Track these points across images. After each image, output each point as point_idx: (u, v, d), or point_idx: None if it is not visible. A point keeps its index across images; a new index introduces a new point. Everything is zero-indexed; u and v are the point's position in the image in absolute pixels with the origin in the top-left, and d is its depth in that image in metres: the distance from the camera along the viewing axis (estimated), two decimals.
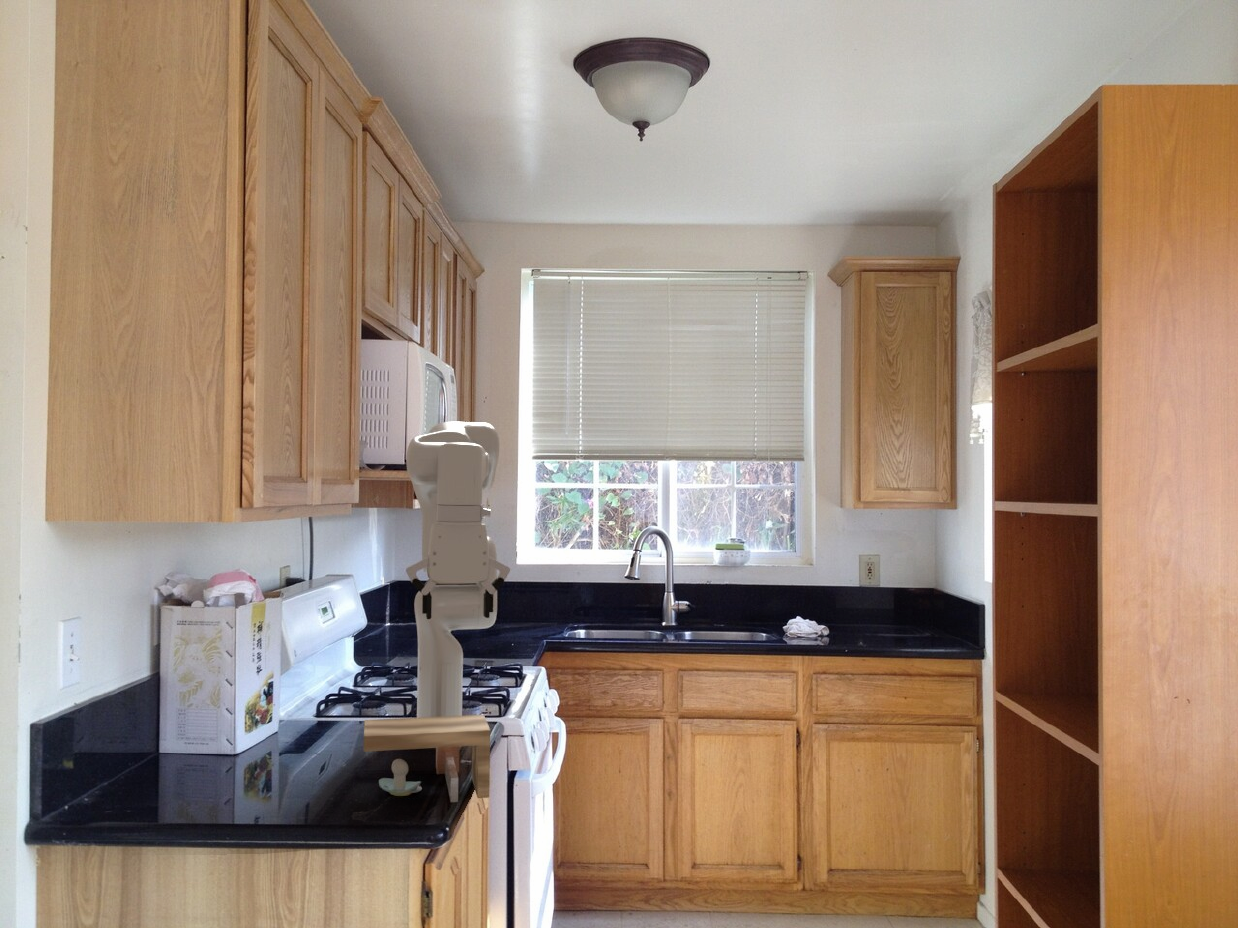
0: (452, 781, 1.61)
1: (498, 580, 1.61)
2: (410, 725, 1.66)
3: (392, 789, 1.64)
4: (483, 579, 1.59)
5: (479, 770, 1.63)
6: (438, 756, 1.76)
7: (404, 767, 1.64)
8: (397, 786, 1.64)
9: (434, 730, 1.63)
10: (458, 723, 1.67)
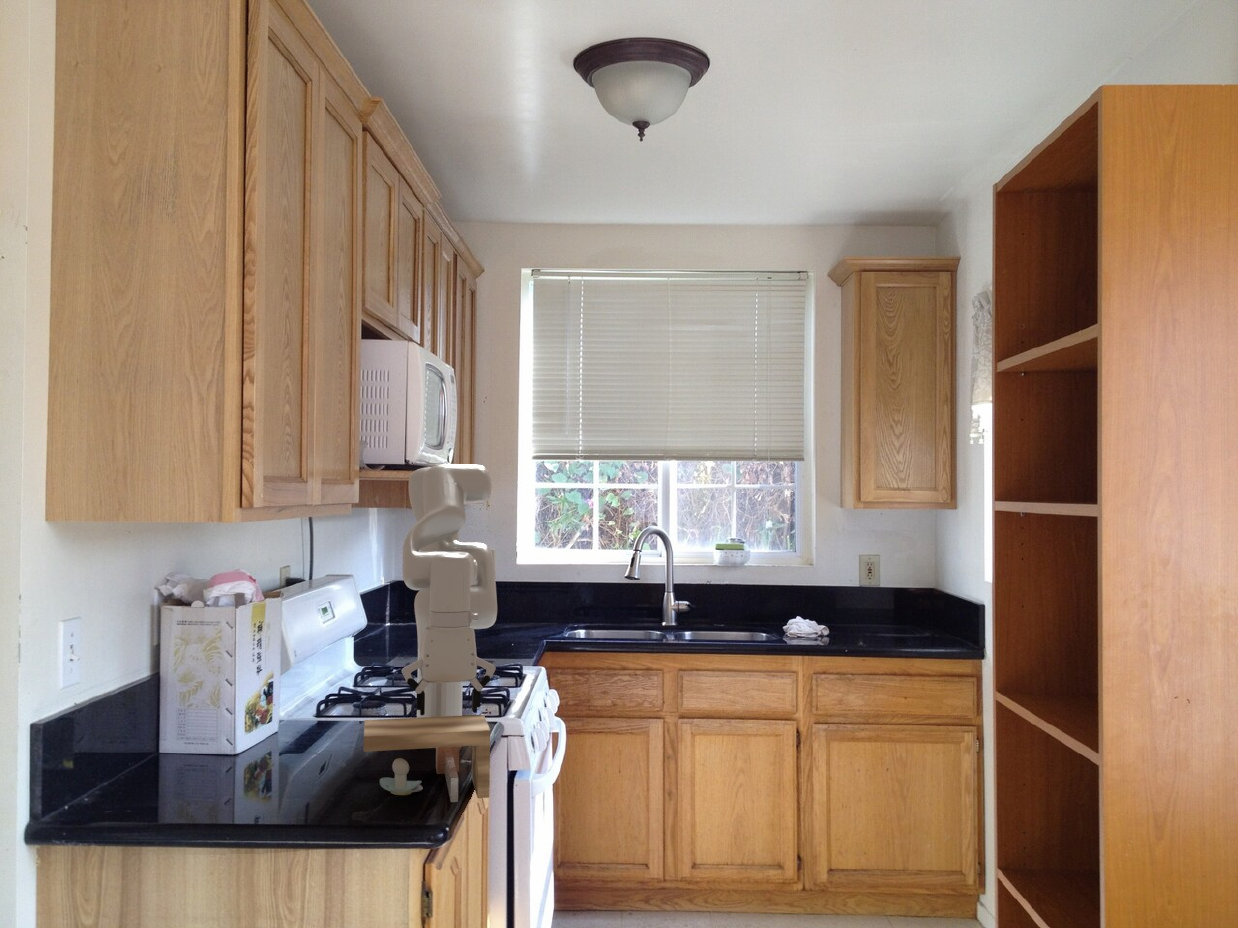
0: (452, 781, 1.61)
1: (485, 678, 1.79)
2: (410, 725, 1.66)
3: (393, 788, 1.64)
4: (471, 678, 1.77)
5: (479, 770, 1.63)
6: (438, 756, 1.76)
7: (405, 766, 1.64)
8: (398, 785, 1.64)
9: (434, 730, 1.63)
10: (458, 723, 1.67)
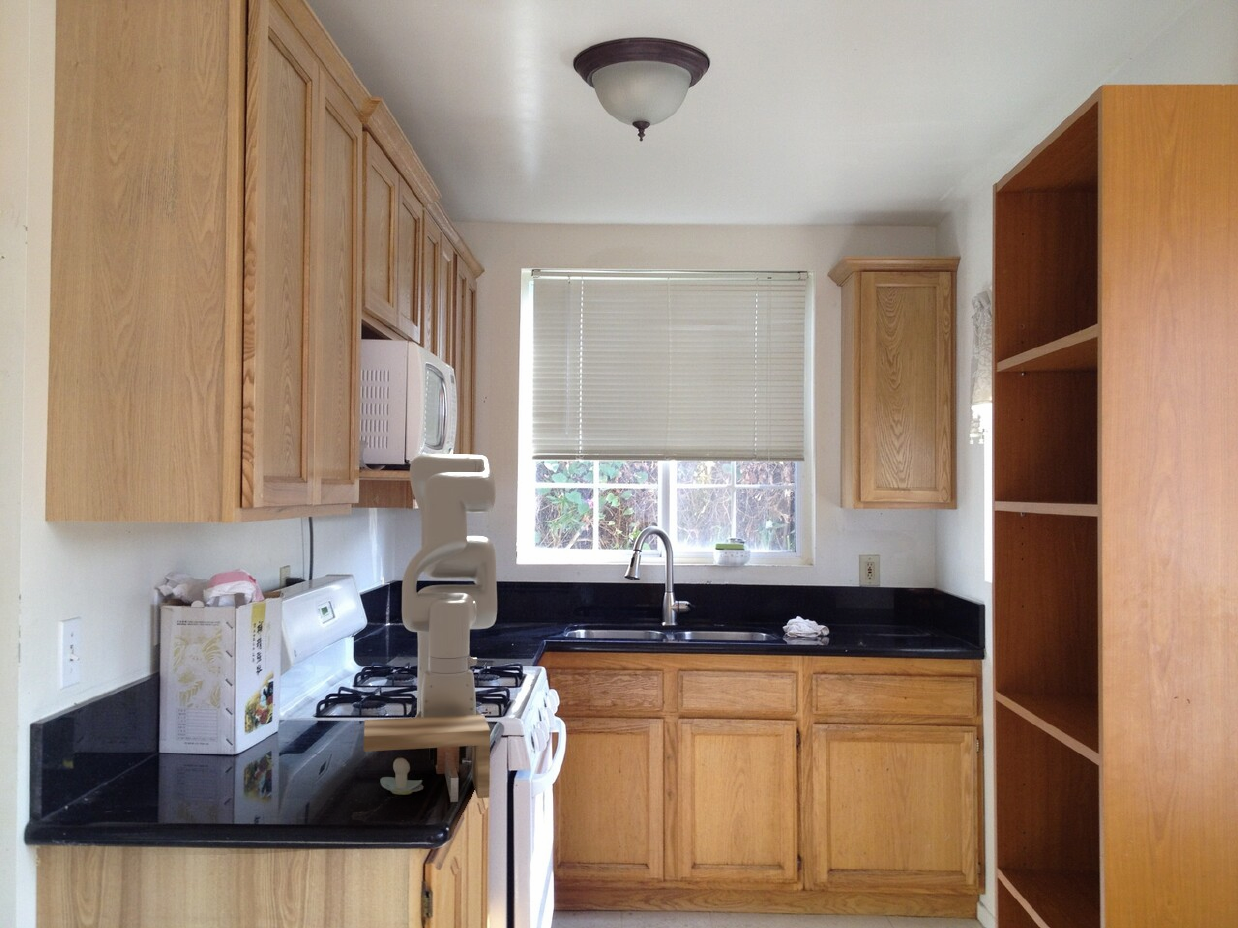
0: (452, 781, 1.61)
1: None
2: (410, 725, 1.66)
3: (394, 788, 1.64)
4: None
5: (479, 770, 1.63)
6: (438, 756, 1.76)
7: (405, 766, 1.64)
8: (399, 785, 1.65)
9: (434, 730, 1.63)
10: (458, 723, 1.67)
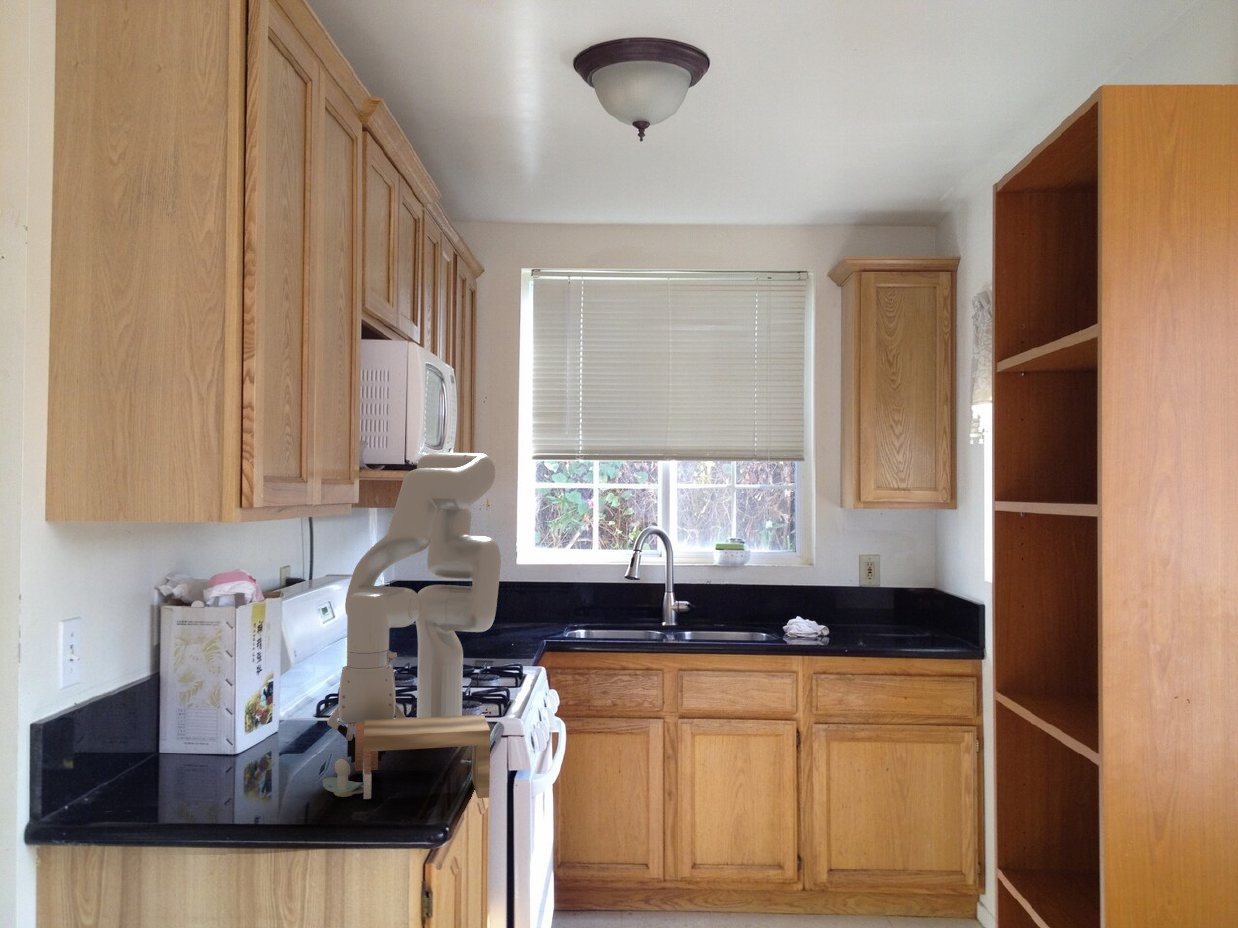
0: (365, 777, 1.57)
1: None
2: (410, 725, 1.66)
3: (335, 789, 1.63)
4: (389, 718, 1.74)
5: (479, 770, 1.63)
6: (356, 753, 1.72)
7: (345, 767, 1.62)
8: (339, 786, 1.63)
9: (434, 730, 1.63)
10: (458, 723, 1.67)
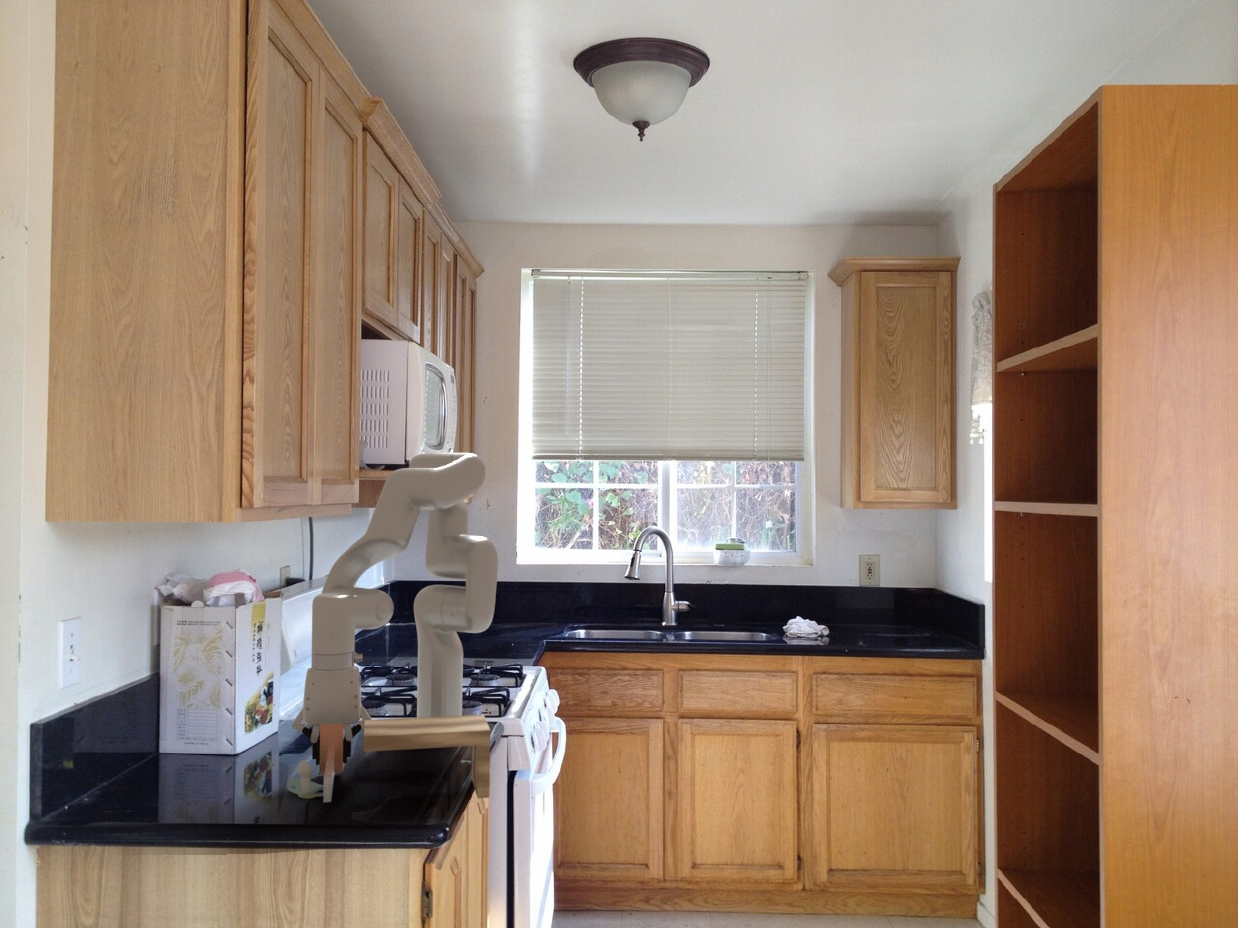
0: (325, 781, 1.56)
1: (355, 727, 1.74)
2: (410, 725, 1.66)
3: (297, 790, 1.63)
4: (354, 720, 1.72)
5: (479, 770, 1.63)
6: (321, 755, 1.71)
7: (306, 769, 1.62)
8: (302, 788, 1.62)
9: (434, 730, 1.63)
10: (458, 723, 1.67)
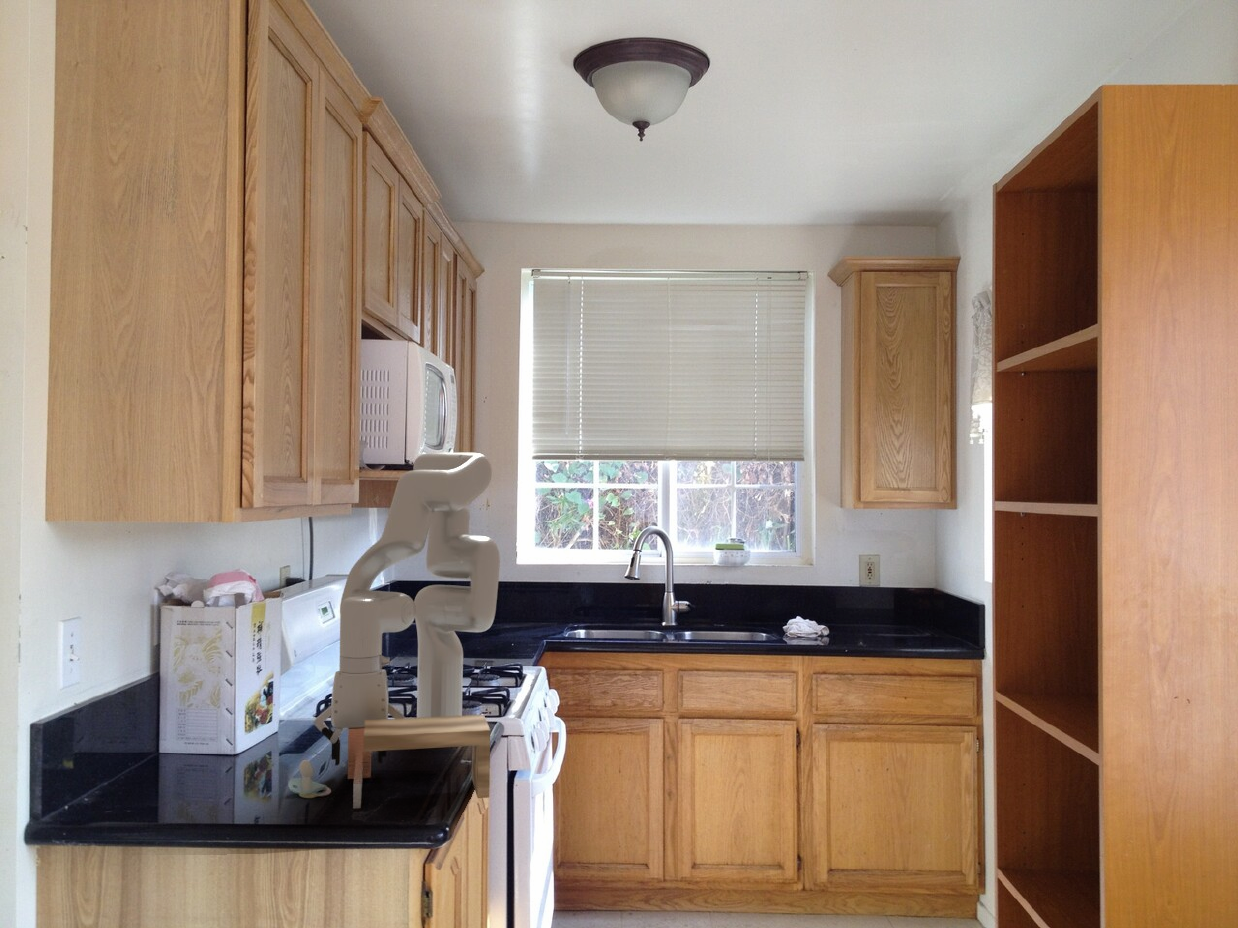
0: (354, 787, 1.57)
1: None
2: (410, 725, 1.66)
3: (299, 790, 1.63)
4: None
5: (479, 770, 1.63)
6: (349, 761, 1.72)
7: (307, 769, 1.62)
8: (303, 787, 1.63)
9: (434, 730, 1.63)
10: (458, 723, 1.67)
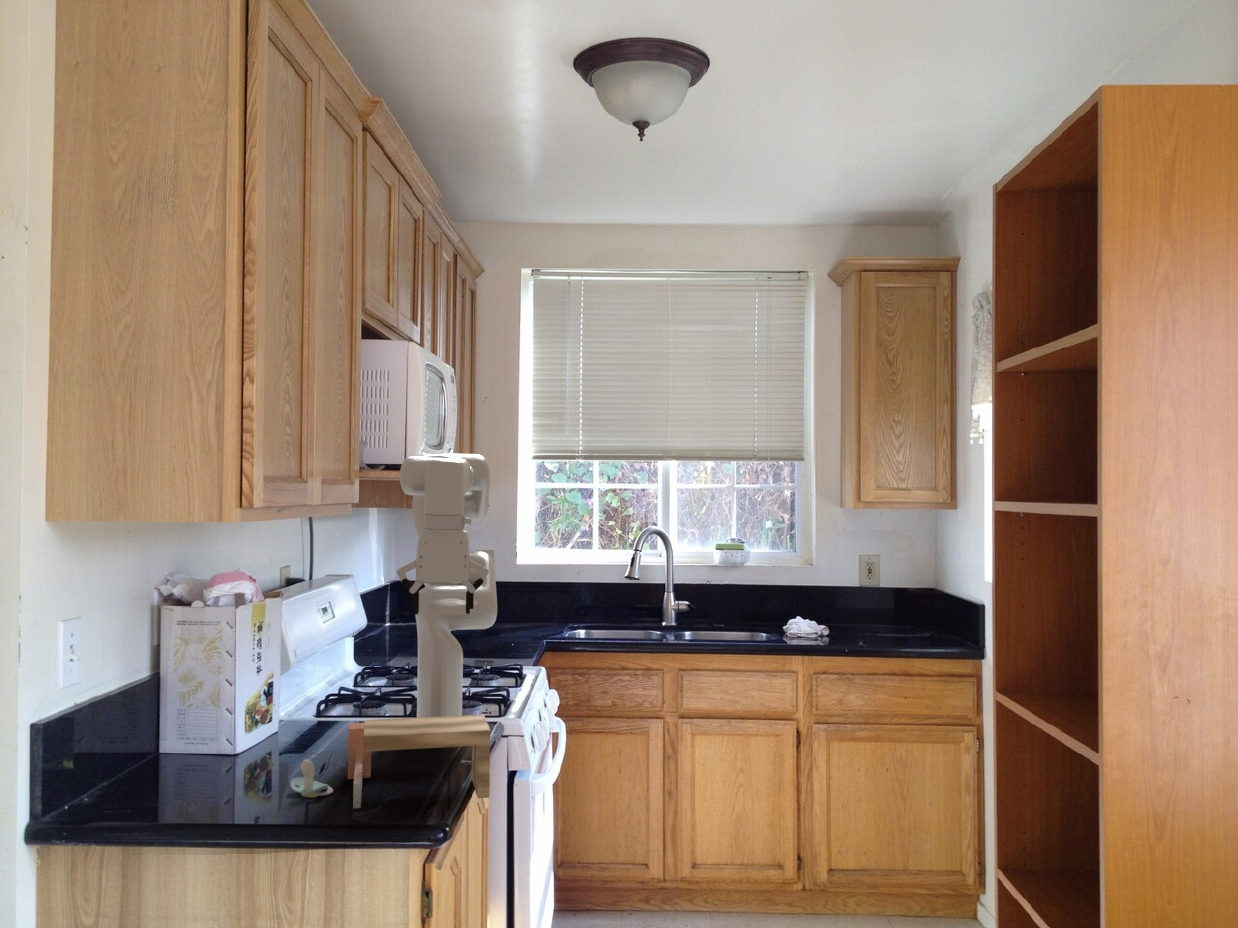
0: (354, 787, 1.57)
1: (478, 581, 1.82)
2: (410, 725, 1.66)
3: (301, 789, 1.63)
4: (464, 580, 1.81)
5: (479, 770, 1.63)
6: (349, 761, 1.72)
7: (309, 768, 1.62)
8: (305, 787, 1.63)
9: (434, 730, 1.63)
10: (458, 723, 1.67)
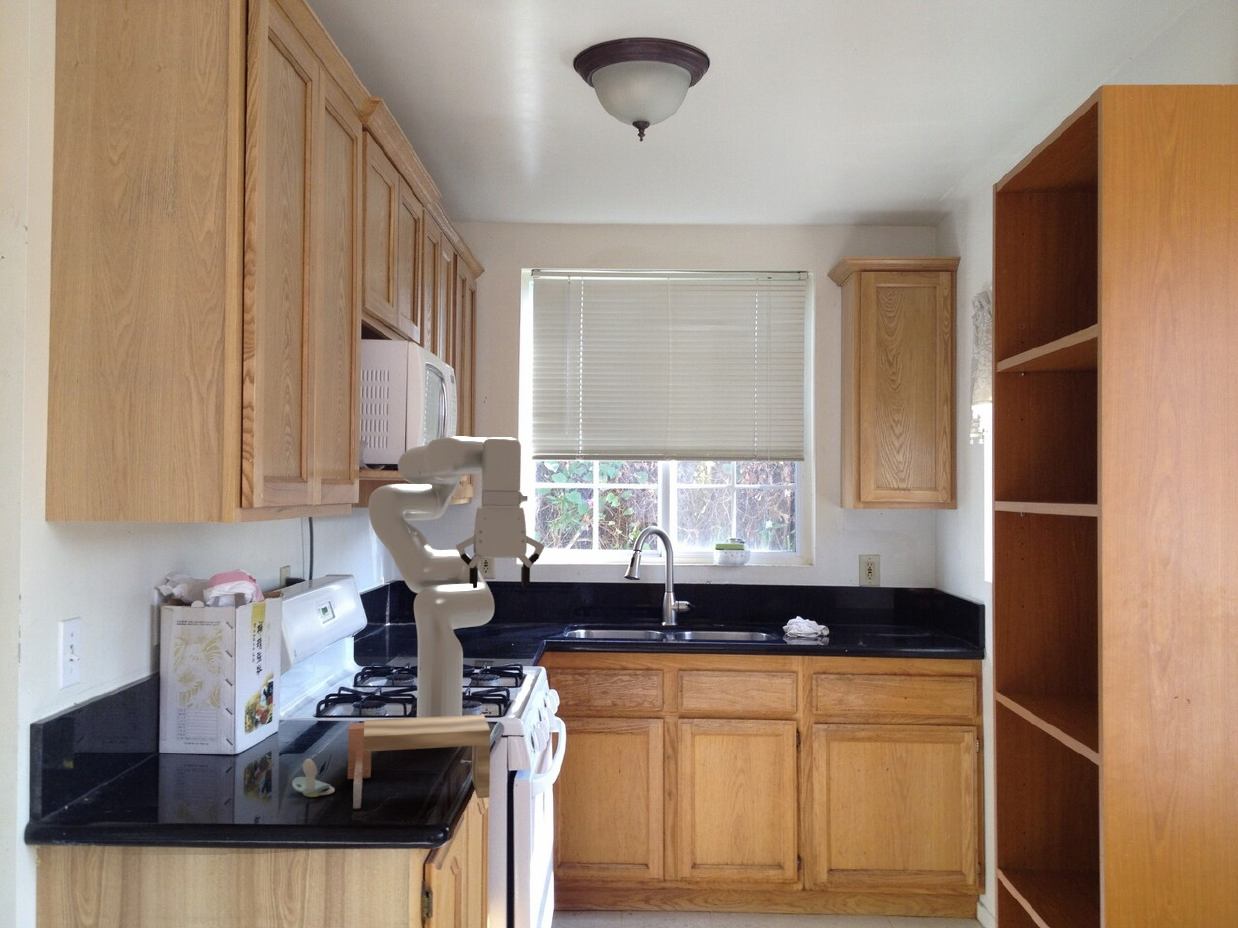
0: (355, 787, 1.57)
1: (534, 555, 1.88)
2: (410, 725, 1.66)
3: (302, 789, 1.63)
4: (521, 554, 1.86)
5: (479, 770, 1.63)
6: (349, 761, 1.72)
7: (311, 768, 1.62)
8: (307, 786, 1.63)
9: (434, 730, 1.63)
10: (458, 723, 1.67)
